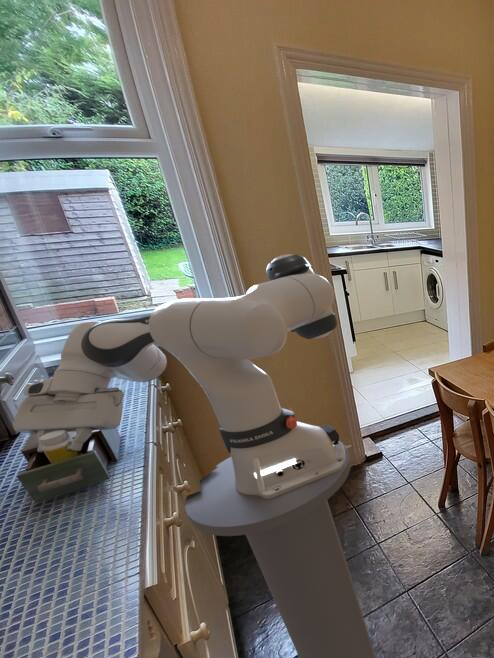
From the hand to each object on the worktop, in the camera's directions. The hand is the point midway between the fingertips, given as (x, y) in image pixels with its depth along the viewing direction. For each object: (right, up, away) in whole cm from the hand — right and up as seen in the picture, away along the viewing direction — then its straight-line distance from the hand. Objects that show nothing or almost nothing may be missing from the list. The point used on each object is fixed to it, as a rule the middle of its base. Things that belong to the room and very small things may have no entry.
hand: (58, 451), depth 87 cm
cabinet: (-7, -4, +12) cm, 14 cm away
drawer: (+1, -7, +2) cm, 7 cm away
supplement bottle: (0, -4, +3) cm, 5 cm away
